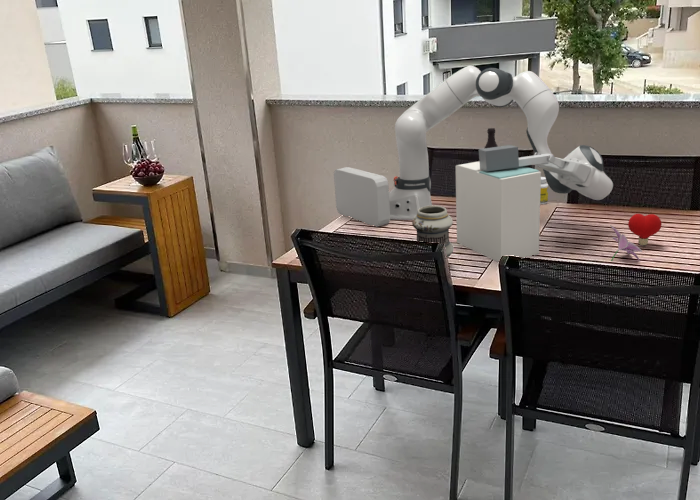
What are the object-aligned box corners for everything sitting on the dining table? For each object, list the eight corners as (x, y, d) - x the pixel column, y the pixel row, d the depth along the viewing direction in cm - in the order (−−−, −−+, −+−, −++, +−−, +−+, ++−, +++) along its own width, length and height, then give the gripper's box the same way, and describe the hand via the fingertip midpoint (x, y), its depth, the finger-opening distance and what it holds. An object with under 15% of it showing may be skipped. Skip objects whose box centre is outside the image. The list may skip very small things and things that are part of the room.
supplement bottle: (532, 204, 254) (532, 179, 251) (534, 200, 259) (534, 176, 256) (547, 204, 252) (547, 179, 249) (548, 201, 257) (549, 176, 254)
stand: (492, 234, 223) (492, 158, 215) (538, 254, 203) (541, 170, 194) (456, 242, 218) (455, 164, 210) (500, 263, 197) (501, 178, 189)
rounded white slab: (395, 223, 243) (393, 175, 237) (378, 228, 239) (376, 179, 233) (352, 209, 266) (349, 164, 260) (336, 213, 262) (333, 168, 256)
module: (546, 159, 204) (546, 140, 203) (555, 161, 198) (554, 141, 197) (479, 168, 202) (478, 149, 200) (486, 171, 196) (485, 151, 194)
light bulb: (658, 242, 205) (661, 211, 202) (660, 250, 199) (663, 218, 195) (626, 241, 208) (628, 210, 205) (627, 248, 202) (629, 217, 198)
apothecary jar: (419, 276, 192) (417, 216, 186) (409, 262, 204) (406, 206, 198) (459, 271, 194) (458, 212, 188) (446, 257, 205) (445, 201, 199)
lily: (639, 272, 186) (654, 241, 185) (599, 255, 188) (614, 224, 187) (630, 270, 198) (644, 241, 197) (592, 254, 200) (606, 225, 199)
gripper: (554, 158, 216) (524, 142, 209) (600, 169, 198) (570, 151, 191) (546, 176, 216) (516, 160, 210) (591, 188, 199) (560, 171, 192)
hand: (542, 156), depth 200 cm, fingers closed on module, 5 cm apart
